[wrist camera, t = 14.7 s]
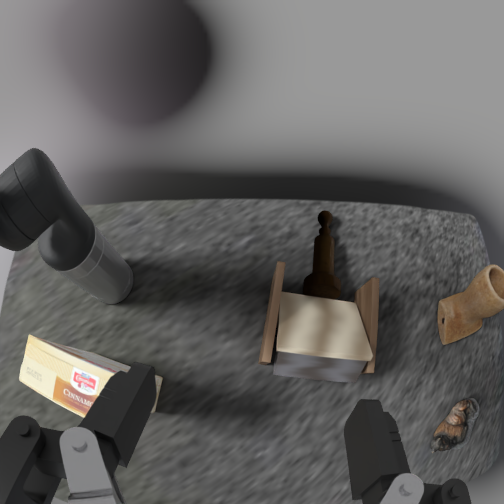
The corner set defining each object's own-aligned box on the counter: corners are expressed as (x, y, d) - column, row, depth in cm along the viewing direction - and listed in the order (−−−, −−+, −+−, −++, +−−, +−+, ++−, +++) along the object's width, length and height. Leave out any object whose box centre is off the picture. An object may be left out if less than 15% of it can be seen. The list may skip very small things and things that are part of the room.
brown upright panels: (258, 363, 46) (261, 361, 39) (272, 279, 53) (277, 261, 45) (353, 374, 46) (373, 372, 38) (360, 293, 52) (379, 278, 45)
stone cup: (469, 283, 54) (510, 257, 40) (480, 330, 49) (525, 312, 35) (425, 293, 53) (469, 266, 39) (437, 347, 48) (486, 332, 34)
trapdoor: (269, 374, 40) (277, 345, 37) (274, 318, 53) (280, 291, 50) (358, 382, 39) (373, 356, 37) (345, 328, 52) (355, 302, 50)
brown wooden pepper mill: (321, 304, 52) (325, 226, 62) (348, 294, 47) (347, 213, 57) (295, 292, 50) (303, 212, 59) (321, 281, 45) (324, 197, 54)
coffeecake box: (83, 385, 42) (17, 380, 25) (92, 351, 45) (28, 331, 28) (155, 414, 42) (108, 431, 24) (164, 376, 45) (120, 374, 27)
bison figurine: (466, 398, 43) (436, 394, 43) (488, 397, 36) (459, 394, 37) (451, 449, 38) (420, 450, 39) (472, 453, 32) (441, 455, 32)
